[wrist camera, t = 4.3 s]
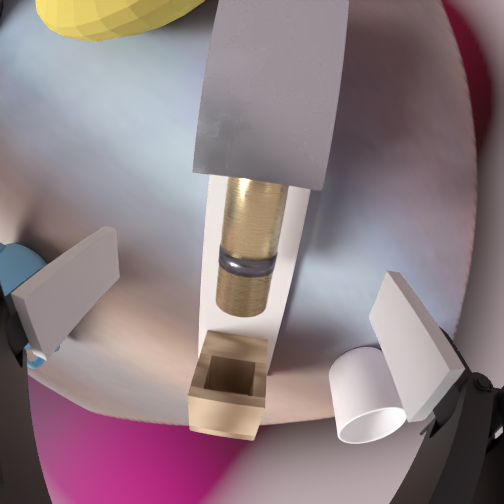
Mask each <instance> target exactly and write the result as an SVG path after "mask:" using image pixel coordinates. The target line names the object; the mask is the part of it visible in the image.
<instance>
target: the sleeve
mask: <svg viewBox="0 0 504 504" xmlns="http://www.w3.org/2000/svg"><path fill="white" fill-rule="evenodd" d="M348 7H349V0H219V3H218V7H217V12H216V16H215V21H214V26H213V31H212V36H211V41H210V47H209V52H208V58H207V64H206V70H205V76H204V82H203V89H202V96H201V103H200V110H199V118H198V126H197V134H196V143H195V152H194V162H193V173H202V174H211V175H219V176H227V177H235V178H242V179H249V180H256V181H263V182H270V183H276V184H282V185H288V186H294V187H299V188H305V189H310V190H316V191H321V192H322V190H323V185H324V180H325V175H326V170H327V164H328V159H329V153H330V148H331V142H332V136H333V130H334V124H335V118H336V111H337V105H338V98H339V91H340V84H341V76H342V68H343V60H344V51H345V41H346V31H347V20H348Z"/></svg>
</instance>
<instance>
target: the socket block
mask: <svg viewBox="0 0 504 504" xmlns="http://www.w3.org/2000/svg"><path fill="white" fill-rule="evenodd" d="M267 350H268V339H261V338H254V337H247V336H240V335H234V334H228V333H222V332H216V331H211V330H207V333H206V337H205V340H204V343H203V346H202V350H201V353H200V356H199V359H198V363H197V366H196V369H195V373H194V376H193V379H192V383H191V386H190V389H189V393H188V410H189V425H190V430H191V431H196V432H201V433H206V434H212V435H217V436H223V437H230V438H237V439H245V440H254V438H255V435H256V432H257V429H258V427H259V424H260V421H261V418H262V415H263V412H264V409H265V395H266V374H267Z"/></svg>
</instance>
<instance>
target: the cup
mask: <svg viewBox="0 0 504 504" xmlns="http://www.w3.org/2000/svg"><path fill="white" fill-rule="evenodd" d="M329 380H330V387H331V393H332V399H333V405H334V412H335V418H336V425H337V433H338V437H339V439H340V440H342V441H343V442H346V443H352V444H353V443H354V444H358V443H366V442H371V441H374V440H377V439H380V438H382V437H385V436H387V435H389V434H391V433H392V432H394V431H395V430H397V429H398V428H399V427H400V426H401V425H402V424H403V423H404V422H405V420H406V418H407V417H406V414H405V411H404V408H403V405H402V402H401V399H400V397H399V394H398V391H397V388H396V385H395V383H394V380H393V377H392V374H391V372H390V369H389V367H388V364H387V361H386V359H385V356H384V354H383V352H382V351H380V350H379V349H376V348H373V347H359V348H355V349H352V350H350V351H348V352H346V353H344V354H342V355H341V356H340V357H338V358H337V359H336V360H335V362H334V363H333V365H332V366H331V369H330V372H329Z"/></svg>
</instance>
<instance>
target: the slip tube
mask: <svg viewBox="0 0 504 504" xmlns="http://www.w3.org/2000/svg"><path fill="white" fill-rule="evenodd" d="M288 189H289V186H288V185H282V184H276V183H270V182H263V181H256V180H249V179H242V178H235V177H228V181H227V189H226V198H225V207H224V216H223V225H222V235H221V243H220V248H219V258H218V263H219V266H218V277H217V288H216V304H217V306H218V307H219V308H220V309H221V310H222V311H223V312H225V313H227V314H229V315H232V316H236V317H245V318H246V317H254V316H257V315H259V314H261V313H263V312H264V310H265V309H266V306H267V301H268V296H269V291H270V286H271V281H272V276H273V271H274V269H275V264H276V259H277V253H278V252H277V250H278V244H279V239H280V234H281V228H282V223H283V217H284V212H285V206H286V201H287V195H288Z"/></svg>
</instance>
